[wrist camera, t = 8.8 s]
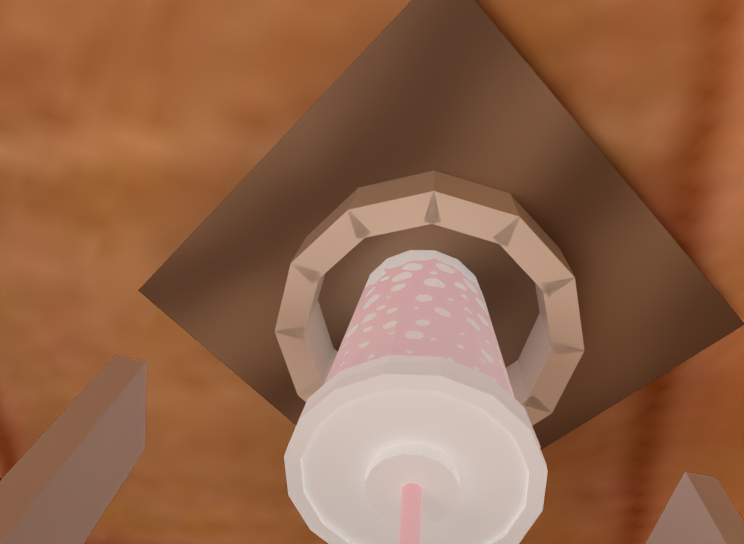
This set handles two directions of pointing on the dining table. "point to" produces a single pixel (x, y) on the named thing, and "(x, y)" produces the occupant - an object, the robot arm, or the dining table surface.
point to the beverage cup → (417, 420)
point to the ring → (459, 213)
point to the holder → (482, 257)
